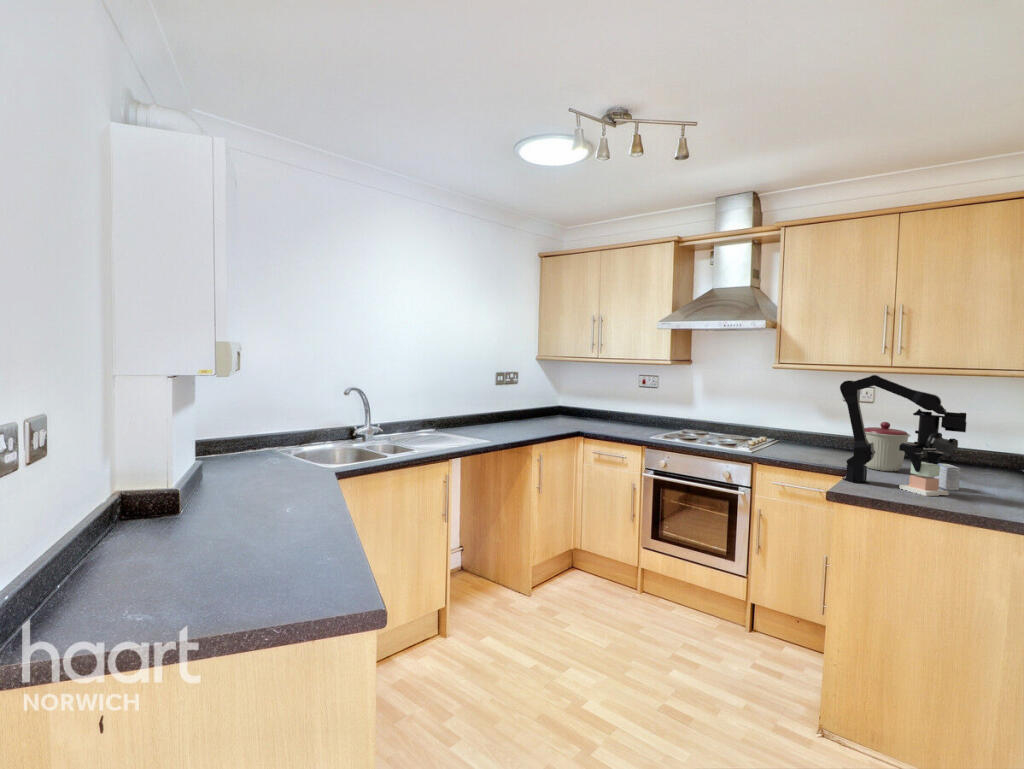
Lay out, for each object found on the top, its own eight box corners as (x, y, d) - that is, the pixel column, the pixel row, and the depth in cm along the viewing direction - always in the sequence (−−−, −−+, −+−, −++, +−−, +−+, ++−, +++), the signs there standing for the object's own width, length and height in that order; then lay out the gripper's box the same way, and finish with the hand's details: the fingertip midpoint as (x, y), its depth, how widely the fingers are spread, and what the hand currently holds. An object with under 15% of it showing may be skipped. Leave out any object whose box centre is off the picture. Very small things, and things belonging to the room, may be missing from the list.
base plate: (925, 496, 185) (926, 491, 185) (899, 488, 194) (899, 484, 194) (948, 495, 187) (948, 491, 187) (920, 488, 197) (920, 484, 197)
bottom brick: (908, 486, 193) (909, 475, 193) (921, 485, 194) (922, 475, 194) (925, 490, 187) (925, 479, 187) (938, 490, 188) (939, 478, 188)
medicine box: (959, 491, 195) (961, 468, 195) (945, 489, 196) (947, 467, 196) (946, 486, 203) (948, 463, 202) (932, 485, 204) (934, 462, 203)
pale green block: (928, 476, 186) (929, 465, 186) (910, 473, 192) (911, 462, 192) (939, 476, 189) (940, 465, 188) (920, 472, 194) (921, 461, 194)
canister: (883, 474, 221) (887, 424, 220) (847, 465, 239) (851, 419, 238) (918, 473, 225) (922, 425, 224) (880, 465, 243) (884, 419, 242)
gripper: (930, 432, 179) (926, 477, 180) (972, 432, 184) (968, 476, 185) (899, 427, 190) (895, 470, 191) (940, 428, 195) (936, 469, 195)
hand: (924, 471), depth 190 cm, fingers closed on pale green block, 6 cm apart
